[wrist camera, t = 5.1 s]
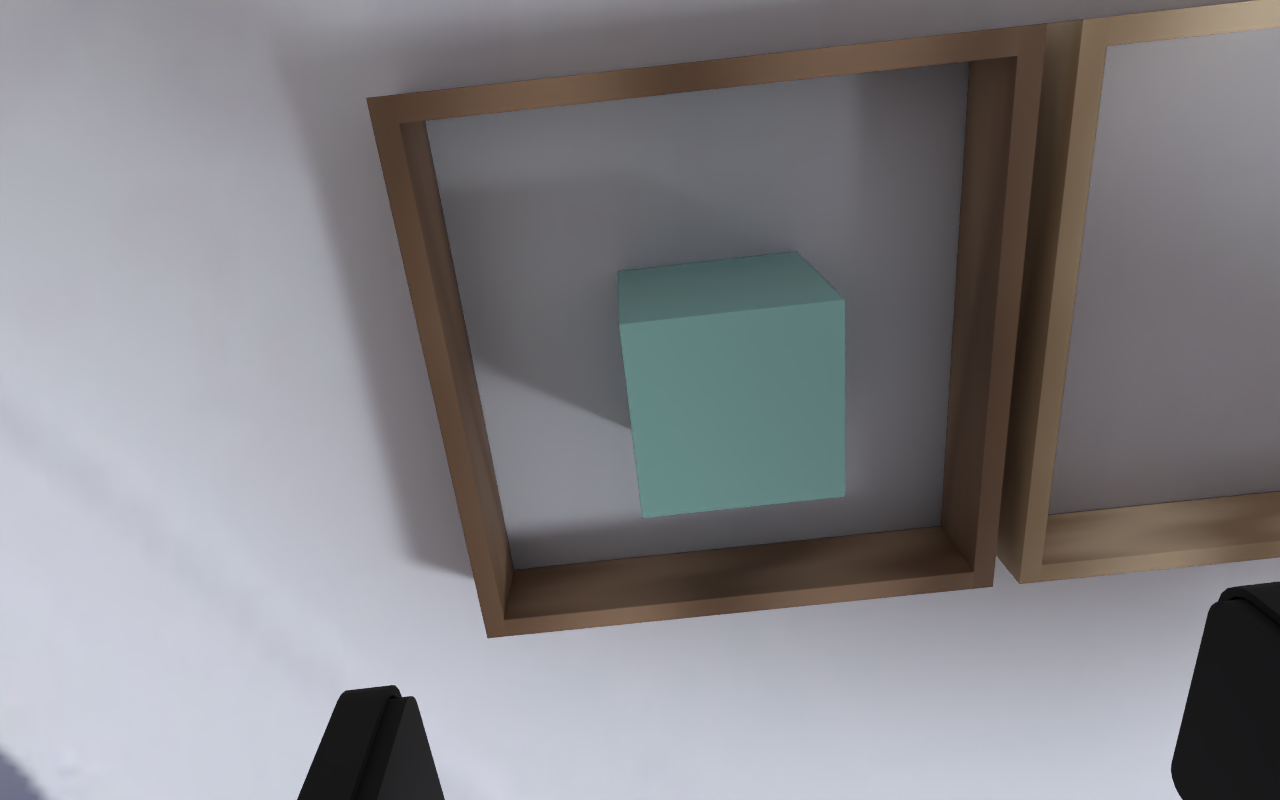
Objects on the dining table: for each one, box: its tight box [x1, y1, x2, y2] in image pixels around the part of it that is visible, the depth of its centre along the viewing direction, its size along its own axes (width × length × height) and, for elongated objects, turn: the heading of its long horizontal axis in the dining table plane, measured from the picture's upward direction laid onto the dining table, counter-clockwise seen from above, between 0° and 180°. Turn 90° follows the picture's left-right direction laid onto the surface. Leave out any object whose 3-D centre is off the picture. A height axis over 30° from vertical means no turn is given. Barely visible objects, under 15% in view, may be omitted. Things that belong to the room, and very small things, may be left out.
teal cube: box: [618, 251, 845, 518], centre depth 20 cm, size 5×5×5 cm
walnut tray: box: [366, 23, 1047, 638], centre depth 21 cm, size 15×15×2 cm
